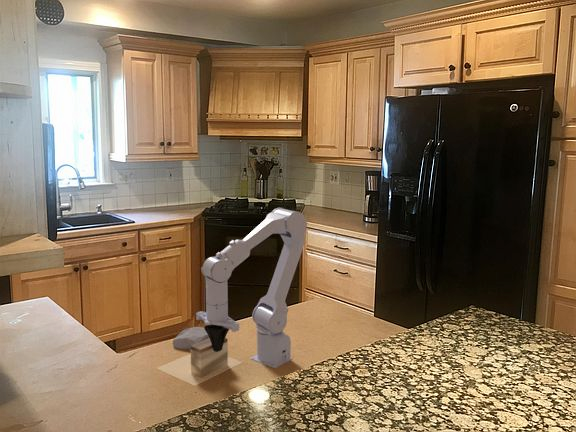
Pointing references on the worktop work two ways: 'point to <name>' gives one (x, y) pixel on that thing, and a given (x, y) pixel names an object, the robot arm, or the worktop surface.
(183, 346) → the stone block
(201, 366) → the maple block
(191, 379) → the beige square board
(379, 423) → the worktop surface
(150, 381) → the worktop surface
